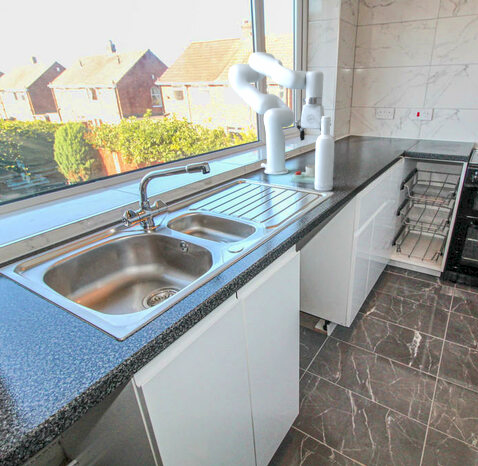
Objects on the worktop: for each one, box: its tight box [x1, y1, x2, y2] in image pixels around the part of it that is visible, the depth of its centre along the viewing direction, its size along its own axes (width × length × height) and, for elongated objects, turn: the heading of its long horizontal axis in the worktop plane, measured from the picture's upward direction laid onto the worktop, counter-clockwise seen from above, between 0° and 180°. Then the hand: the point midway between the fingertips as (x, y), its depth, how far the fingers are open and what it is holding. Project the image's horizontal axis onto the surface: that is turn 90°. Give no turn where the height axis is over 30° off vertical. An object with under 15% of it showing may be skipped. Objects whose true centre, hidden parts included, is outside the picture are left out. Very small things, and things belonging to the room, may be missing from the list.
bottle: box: [314, 115, 336, 192], centre depth 138 cm, size 8×8×30 cm
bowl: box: [304, 164, 315, 177], centre depth 158 cm, size 6×7×5 cm
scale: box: [291, 171, 315, 185], centre depth 158 cm, size 17×14×3 cm
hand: (312, 141), depth 154 cm, fingers open, 9 cm apart
